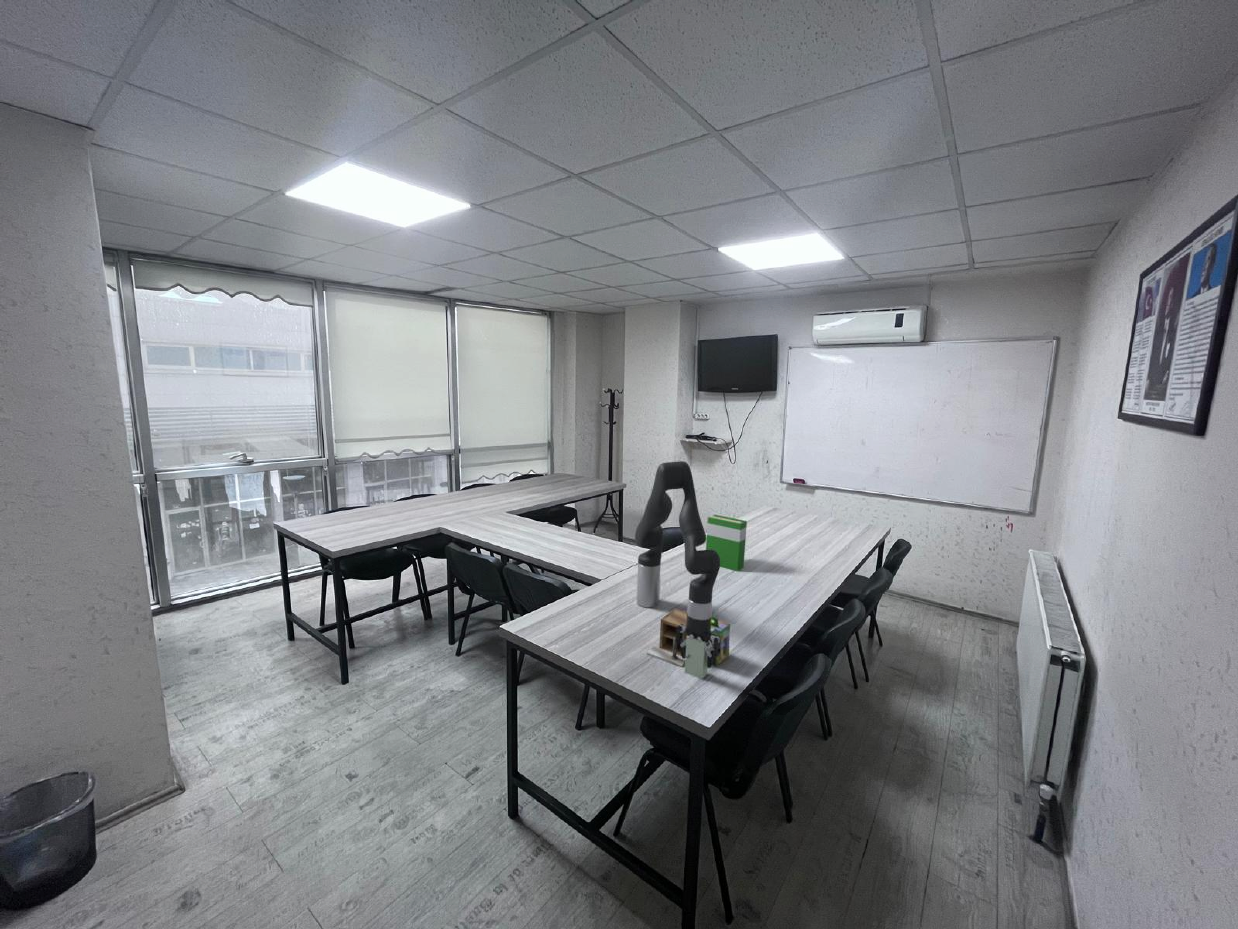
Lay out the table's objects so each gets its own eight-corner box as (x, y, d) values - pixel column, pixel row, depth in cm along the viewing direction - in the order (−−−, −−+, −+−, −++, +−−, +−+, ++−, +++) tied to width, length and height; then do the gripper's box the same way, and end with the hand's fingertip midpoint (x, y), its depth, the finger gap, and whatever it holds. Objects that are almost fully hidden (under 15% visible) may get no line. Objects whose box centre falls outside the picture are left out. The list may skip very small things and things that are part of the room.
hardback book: (705, 562, 253) (707, 517, 249) (711, 559, 258) (714, 514, 255) (737, 571, 242) (740, 524, 238) (743, 567, 248) (746, 521, 244)
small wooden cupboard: (668, 636, 177) (669, 607, 176) (701, 647, 170) (703, 617, 168) (646, 654, 165) (648, 623, 163) (681, 667, 158) (683, 635, 156)
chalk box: (729, 656, 165) (732, 614, 163) (715, 667, 158) (718, 624, 156) (705, 646, 171) (707, 606, 169) (691, 657, 164) (693, 615, 162)
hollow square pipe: (689, 666, 158) (691, 632, 156) (707, 673, 155) (709, 637, 153) (683, 673, 155) (685, 637, 153) (701, 680, 151) (703, 643, 149)
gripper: (726, 615, 151) (722, 664, 154) (684, 602, 159) (681, 649, 161) (716, 624, 145) (712, 675, 147) (673, 611, 153) (670, 659, 155)
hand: (696, 661), depth 154 cm, fingers open, 8 cm apart
